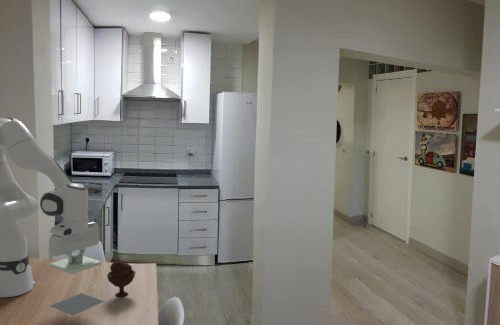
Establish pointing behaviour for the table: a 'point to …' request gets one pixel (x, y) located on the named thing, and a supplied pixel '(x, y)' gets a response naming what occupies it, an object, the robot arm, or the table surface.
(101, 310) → the table surface
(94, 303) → the mat
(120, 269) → the ice cream bowl
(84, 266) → the lid
